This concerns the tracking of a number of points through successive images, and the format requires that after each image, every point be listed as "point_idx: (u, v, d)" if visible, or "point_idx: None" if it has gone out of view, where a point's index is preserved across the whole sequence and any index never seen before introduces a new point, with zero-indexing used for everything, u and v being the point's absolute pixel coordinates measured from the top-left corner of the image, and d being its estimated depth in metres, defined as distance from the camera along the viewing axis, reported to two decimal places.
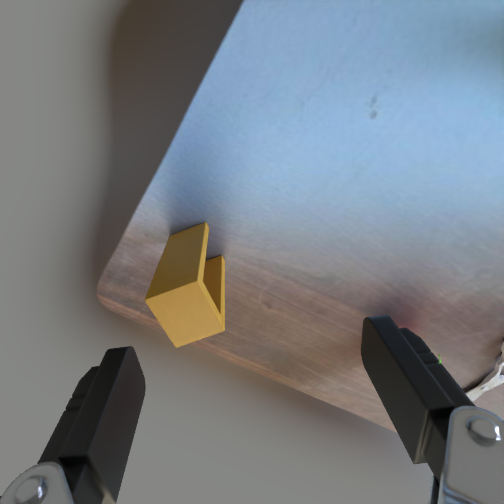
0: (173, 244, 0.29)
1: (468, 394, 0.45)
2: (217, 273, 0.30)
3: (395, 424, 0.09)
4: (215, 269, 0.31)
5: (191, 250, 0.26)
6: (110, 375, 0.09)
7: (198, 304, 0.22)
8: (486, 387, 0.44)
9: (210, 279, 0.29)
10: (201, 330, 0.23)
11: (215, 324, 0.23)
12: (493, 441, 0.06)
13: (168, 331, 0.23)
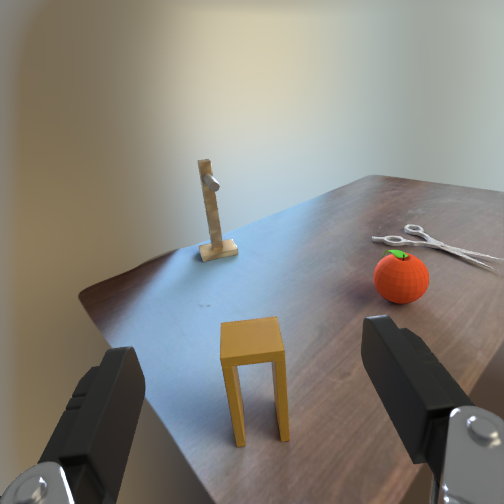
0: None
1: (454, 251, 0.54)
2: (273, 381, 0.30)
3: (395, 424, 0.09)
4: (274, 390, 0.30)
5: None
6: (110, 375, 0.09)
7: (242, 326, 0.26)
8: (441, 244, 0.56)
9: (274, 384, 0.29)
10: (270, 329, 0.25)
11: (267, 320, 0.26)
12: (493, 441, 0.06)
13: (262, 350, 0.23)
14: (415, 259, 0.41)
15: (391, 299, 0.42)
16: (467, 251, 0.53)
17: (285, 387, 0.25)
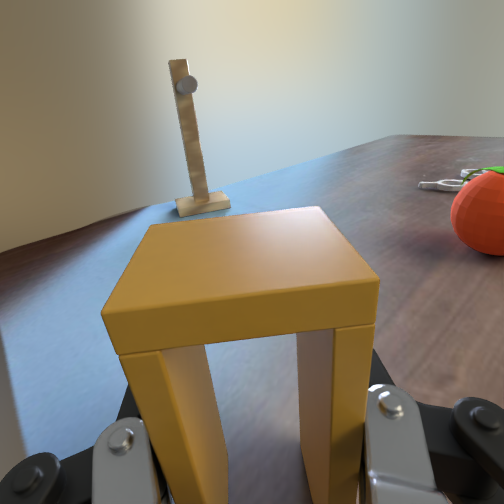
0: None
1: None
2: (300, 398, 0.12)
3: None
4: (302, 420, 0.12)
5: None
6: None
7: (213, 227, 0.08)
8: None
9: (304, 406, 0.11)
10: (305, 228, 0.08)
11: (292, 212, 0.09)
12: (397, 413, 0.07)
13: (283, 282, 0.06)
14: None
15: (490, 246, 0.24)
16: None
17: (360, 427, 0.07)
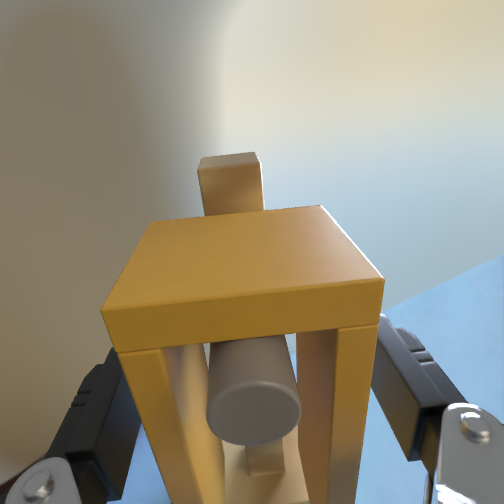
0: None
1: None
2: None
3: (390, 422, 0.09)
4: (300, 420, 0.12)
5: None
6: (114, 372, 0.09)
7: (214, 225, 0.08)
8: None
9: (303, 406, 0.11)
10: (307, 227, 0.07)
11: (294, 211, 0.08)
12: (485, 438, 0.07)
13: (286, 281, 0.05)
14: None
15: None
16: None
17: (361, 428, 0.07)
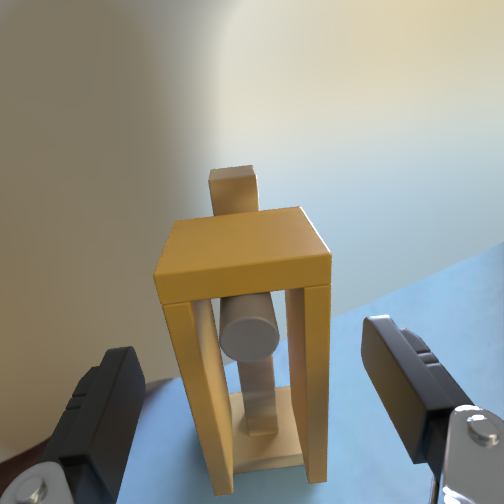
0: None
1: None
2: (289, 360, 0.15)
3: (395, 424, 0.09)
4: (291, 377, 0.15)
5: None
6: (110, 375, 0.09)
7: (221, 222, 0.11)
8: None
9: (292, 363, 0.14)
10: (288, 222, 0.11)
11: (280, 211, 0.12)
12: (493, 441, 0.06)
13: (269, 256, 0.09)
14: None
15: None
16: None
17: (326, 362, 0.10)
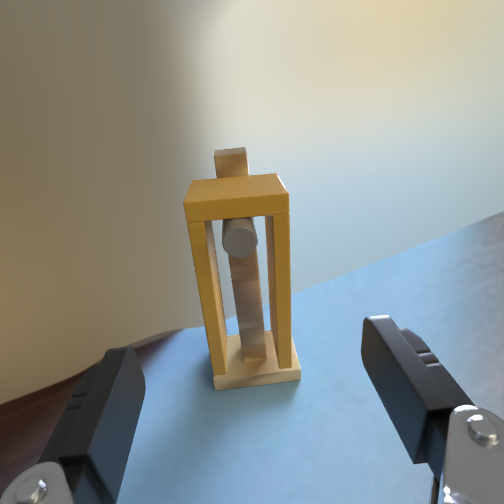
0: None
1: None
2: (269, 288, 0.21)
3: (395, 424, 0.09)
4: (270, 301, 0.21)
5: None
6: (110, 375, 0.09)
7: (223, 180, 0.17)
8: None
9: (270, 287, 0.20)
10: (266, 180, 0.16)
11: (262, 175, 0.17)
12: (493, 441, 0.06)
13: (252, 194, 0.14)
14: None
15: None
16: None
17: (288, 269, 0.16)
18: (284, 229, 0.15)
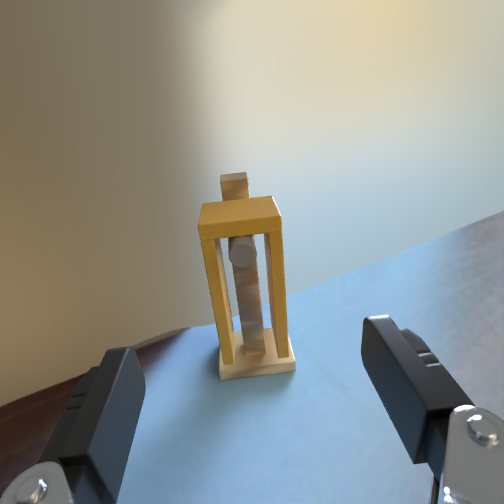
0: None
1: None
2: None
3: (395, 424, 0.09)
4: (270, 302, 0.25)
5: None
6: (110, 375, 0.09)
7: (228, 203, 0.21)
8: None
9: (269, 290, 0.24)
10: (263, 203, 0.20)
11: (260, 198, 0.21)
12: (493, 441, 0.06)
13: (252, 217, 0.18)
14: None
15: None
16: None
17: (282, 275, 0.20)
18: (278, 243, 0.19)
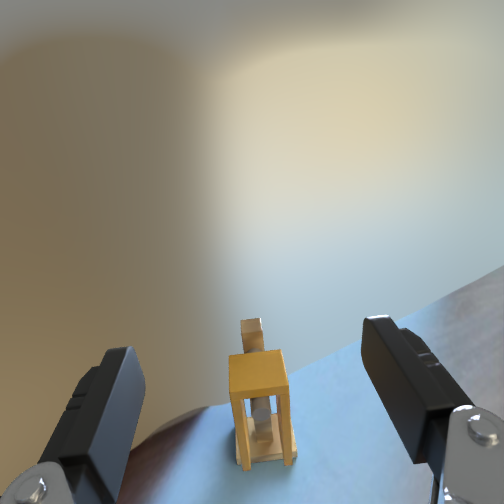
0: None
1: None
2: (277, 408, 0.32)
3: (395, 424, 0.09)
4: None
5: None
6: (110, 375, 0.09)
7: (249, 359, 0.28)
8: None
9: None
10: (275, 362, 0.27)
11: (272, 353, 0.28)
12: (493, 441, 0.06)
13: (268, 385, 0.25)
14: None
15: None
16: None
17: (289, 417, 0.27)
18: (286, 400, 0.26)
